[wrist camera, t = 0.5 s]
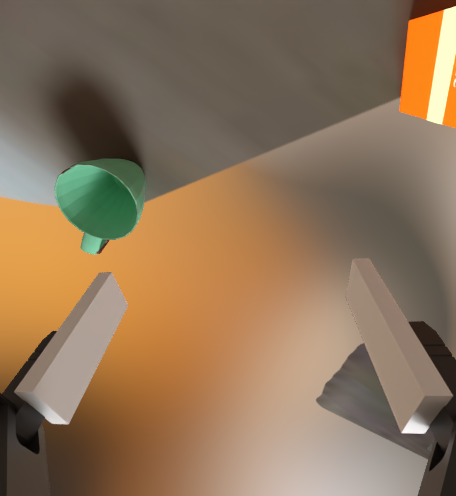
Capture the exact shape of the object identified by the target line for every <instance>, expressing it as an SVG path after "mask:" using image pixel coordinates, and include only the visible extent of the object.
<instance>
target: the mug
mask: <svg viewBox="0 0 456 496" xmlns="http://www.w3.org/2000/svg"><path fill="white" fill-rule="evenodd" d="M145 194H146V181H145V175H144V173H143V171H142V169H141V168H140V167H139V166H138V165H137V164H136V163H134V162H132V161H129V160H124V159H98V160H92V161H84V162H80V163H78V164H75V165H73V166H71V167H70V168H68V169H66V170H65V171H63V172H62V173H61V174H60V175H59V176H58V178H57V181H56V184H55V196H56V200H57V203H58V205H59V208H60V209H61V211H62V213H63V214H64V215H65V217H66V218H67V219H68V220H69V222H71V223H72V224H73V225H74V226H75V227H77V228H78V229H79V230H81V231H82V232H84V235H83V239H82V243H81V249H82V250H83V251H85V252H87V253H90V254H100V253H101V251H102V250H103V249H104V247H105V246H106V244H107V243H108V242H109V240H115V239H119V238H123V237H125V236H126V235H128V234H129V233H131V232H132V231H133V230H134V228H135V226H136V225H137V223H138V221H139V220H140V216H141V213H142V210H143V206H144V201H145Z"/></svg>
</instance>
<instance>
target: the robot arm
mask: <svg viewBox="0 0 456 496" xmlns="http://www.w3.org/2000/svg"><path fill="white" fill-rule="evenodd" d="M346 300H347V302H348V305H349V307H350V309H351V312H352V314H353V317H354V319H355V322H356V324H357V326H358V329H359V331H360V334H361V336H362V338H363V341H364V344H365V346H366V348H367V351H368V353H369V356H370V358H371V361H372V363H373V365H374V368H375V370H376V373H377V375H378V378H379V380H380V382H381V385H382V387H383V390H384V392H385V395H386V397H387V400H388V402H389V404H390V407H391V409H392V412H393V414H394V417H395V419H396V421H397V424H398V426H399V429H400V431H401V433H421V434H424V433H425V432H426V431H427V430H428V428H429V427H430V428H431V430H432V432H433V434H434V436H435V438H436V439H435V440H434V441H433V442H432V443H431V445H430V446H429V447H428V449H427V450H428V451H429V452H431V453H430V456H429V459H428V463H427V466H426V469H425V473H424V476H423V479H422V483H421V486H420V490H419V493H418V496H456V360H455V358H454V357H452V354H451V352H450V351H449V350H448V348H447V347H445V344H444V342H443V341H442V339H441V338H440V337H439V335H438V334H437V332H436V331H435V330H433V329H432V328H431V327H430V326H428V325H427V324H426V323H425V322H423V321H421V322H408V321H407V320H406V318H405V316H404V315H403V313H402V311H401V310H400V308H399V307H398V305H397V303H396V302H395V300H394V298H393V297H392V295H391V294H390V292H389V290H388V289H387V287H386V285H385V284H384V282H383V281H382V279H381V277H380V276H379V274H378V272H377V271H376V269H375V267H374V266H373V264H372V263H371V261H370V259H369V258H362V259H353V261H352V266H351V272H350V276H349V282H348V287H347V292H346ZM127 307H128V304H127V302H126V300H125V298H124V296H123V294H122V292H121V290H120V288H119V286H118V284H117V282H116V280H115V278H114V276H113V274H112V273H111V272H106V273H99V274H98V275H97V277H96V278H95V279H94V281H93V282H92V284H91V285H90V286H89V288H88V289H87V291H86V292H85V293H84V295H83V296H82V297H81V299H80V301H79V302H78V303H77V304H76V306H75V307H74V309H73V310H72V311H71V313H70V314H69V316H68V317H67V318H66V320H65V321H64V323H63V324H62V325H61V327H60V328H59V330H58V331H52V332H51V333H50V334H49V335H48V336H47V337H46V338H44V339H43V340H42V342H41V343H40V344H39V345H38V347H37V348H36V349H35V352H34V353H33V354H32V355H31V356H30V357H29V359H28V361H26V363H25V364H24V365H23V367H22V368H21V369H20V371H19V372H18V373H17V375H16V376H15V377H14V379H13V380H12V381H11V383H10V384H9V386H8V387H7V388H6V389H5V391H4V392H3V393H2V394H1V393H0V496H50V488H49V478H48V467H47V458H46V447H45V437H44V429H43V427H42V425H41V424H42V422H43V420H44V418H46V419H47V420H49V421H50V422H51V423H52V424H69V422H70V420H71V418H72V416H73V414H74V412H75V410H76V408H77V406H78V404H79V402H80V400H81V398H82V396H83V394H84V392H85V390H86V388H87V386H88V384H89V382H90V380H91V378H92V376H93V374H94V372H95V370H96V368H97V366H98V364H99V362H100V360H101V358H102V356H103V354H104V352H105V351H106V349H107V347H108V344H109V343H110V340H111V338H112V336H113V335H114V333H115V330H116V329H117V327H118V325H119V322H120V321H121V319H122V317H123V315H124V313H125V311H126V309H127Z"/></svg>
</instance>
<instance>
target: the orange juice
mask: <svg viewBox="0 0 456 496" xmlns="http://www.w3.org/2000/svg"><path fill="white" fill-rule="evenodd" d="M400 112H403V113H407V114H410V115H413V116H417V117H420V118H423V119H427V120H428V121H431V122H435V123H438V124H444V125H447V126H450V127H454V128H456V6H455V7H452V8H449V9H445V10H443V11H439V12H436V13H433V14H429V15H426V16H423V17H420V18H416V19H413V20H410V21H409V25H408V35H407V44H406V54H405V63H404V73H403V82H402V92H401V101H400Z"/></svg>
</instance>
